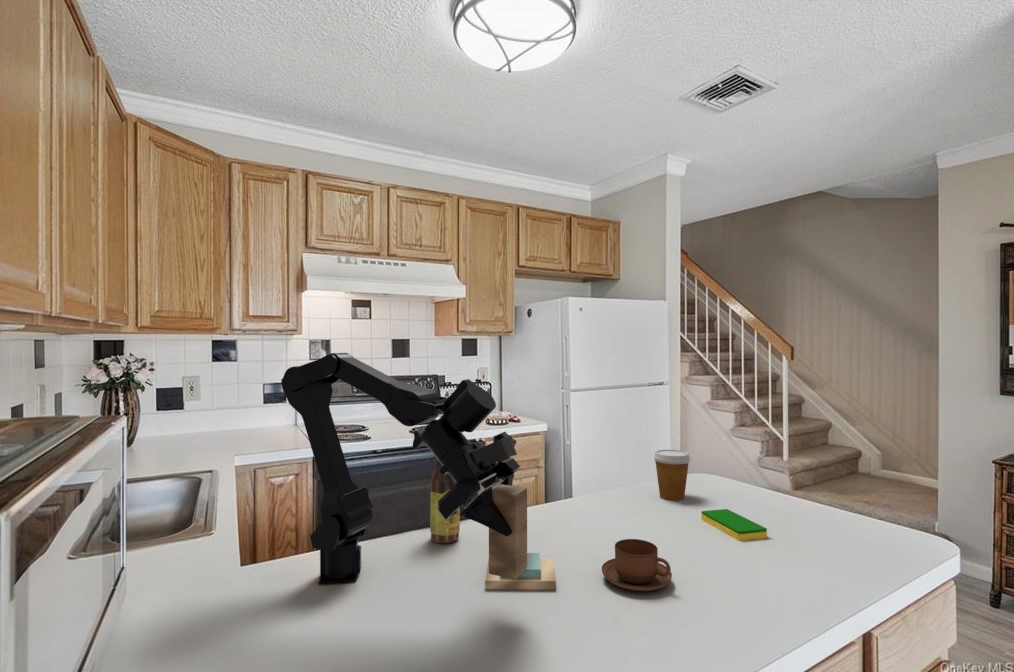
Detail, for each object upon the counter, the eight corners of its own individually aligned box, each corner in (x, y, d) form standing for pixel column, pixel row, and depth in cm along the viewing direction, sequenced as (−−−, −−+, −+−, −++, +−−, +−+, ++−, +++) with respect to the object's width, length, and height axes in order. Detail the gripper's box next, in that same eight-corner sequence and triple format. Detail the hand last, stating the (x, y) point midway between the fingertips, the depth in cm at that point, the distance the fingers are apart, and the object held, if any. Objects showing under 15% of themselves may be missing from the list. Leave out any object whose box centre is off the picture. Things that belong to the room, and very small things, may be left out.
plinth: (485, 589, 90) (485, 571, 90) (488, 566, 99) (488, 550, 99) (555, 589, 90) (555, 572, 90) (552, 567, 99) (552, 550, 99)
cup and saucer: (672, 572, 97) (672, 538, 97) (670, 603, 85) (670, 565, 85) (607, 563, 101) (606, 531, 101) (596, 591, 89) (596, 555, 89)
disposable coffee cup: (686, 504, 135) (686, 458, 135) (649, 499, 140) (649, 454, 140) (694, 495, 144) (693, 451, 144) (658, 490, 148) (658, 447, 148)
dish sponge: (727, 518, 126) (727, 508, 126) (768, 539, 113) (768, 528, 113) (700, 521, 125) (700, 510, 125) (739, 543, 111) (738, 531, 111)
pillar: (488, 573, 80) (488, 491, 81) (501, 562, 85) (501, 484, 85) (515, 579, 79) (515, 495, 79) (527, 567, 83) (527, 487, 83)
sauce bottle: (454, 546, 109) (454, 449, 109) (426, 543, 110) (425, 448, 110) (463, 534, 115) (463, 443, 115) (436, 532, 117) (436, 442, 117)
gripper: (455, 427, 75) (528, 515, 70) (509, 410, 92) (570, 481, 87) (409, 476, 78) (475, 564, 73) (469, 452, 95) (526, 522, 90)
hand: (516, 529), depth 81 cm, fingers closed on pillar, 4 cm apart
